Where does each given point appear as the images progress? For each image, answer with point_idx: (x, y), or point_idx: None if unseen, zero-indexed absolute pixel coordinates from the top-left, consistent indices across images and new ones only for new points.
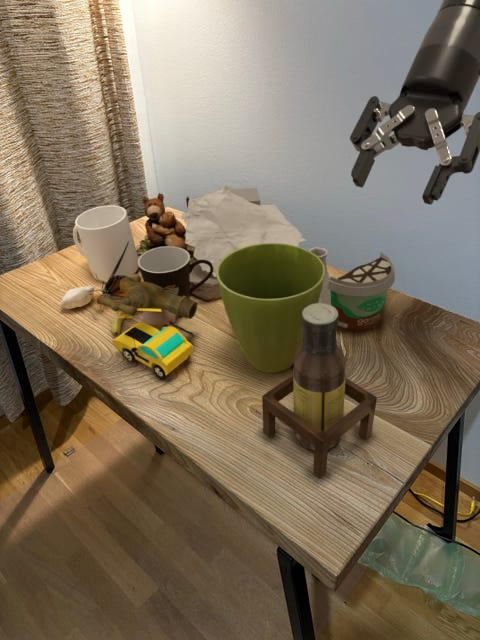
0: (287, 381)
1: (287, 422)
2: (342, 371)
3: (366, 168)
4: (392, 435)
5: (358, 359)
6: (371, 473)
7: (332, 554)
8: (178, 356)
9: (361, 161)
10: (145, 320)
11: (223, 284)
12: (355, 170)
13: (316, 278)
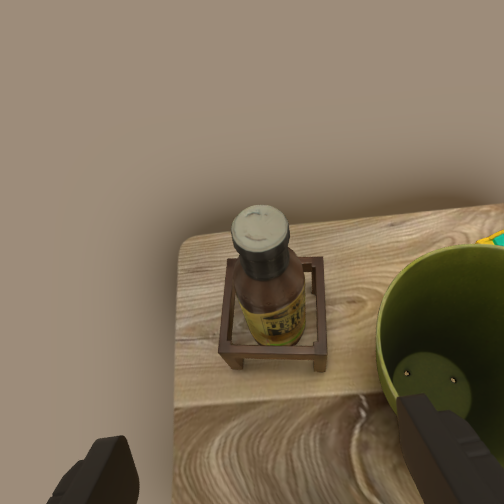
0: (320, 293)
1: None
2: (233, 282)
3: (430, 480)
4: (213, 387)
5: (336, 492)
6: (204, 326)
7: (188, 244)
8: None
9: (455, 451)
10: None
11: (499, 247)
12: (454, 430)
13: None
